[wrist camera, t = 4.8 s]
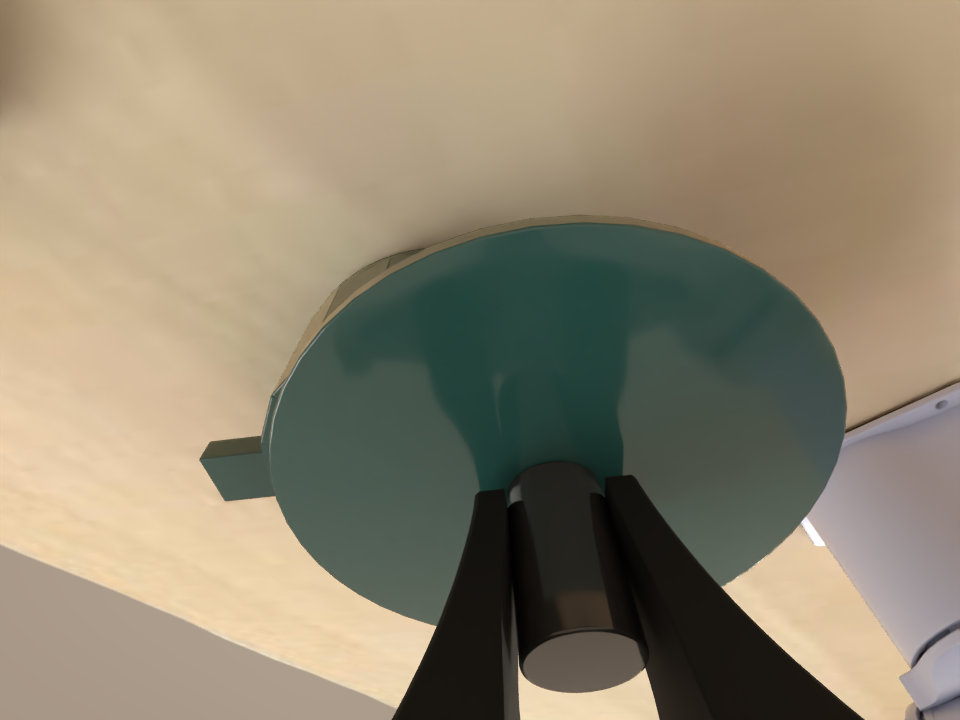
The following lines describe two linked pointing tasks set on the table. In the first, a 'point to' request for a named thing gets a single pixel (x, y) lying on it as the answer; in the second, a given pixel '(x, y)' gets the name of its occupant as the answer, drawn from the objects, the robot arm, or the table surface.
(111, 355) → the table surface
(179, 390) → the table surface
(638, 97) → the table surface
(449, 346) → the pan lid
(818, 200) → the table surface
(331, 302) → the pan
